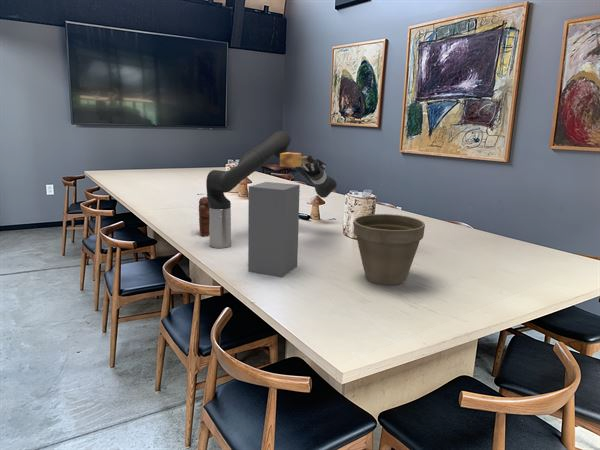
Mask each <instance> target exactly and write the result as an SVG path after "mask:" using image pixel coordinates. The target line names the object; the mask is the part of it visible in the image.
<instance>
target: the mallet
mask: <svg viewBox="0 0 600 450" xmlns="http://www.w3.org/2000/svg"><path fill="white" fill-rule="evenodd" d="M301 154H302V153H301V152H292V151H291V152H289V151H288V152H286V153H280V159H279V167H282V168H293V169H294V167H299V166H301V165H302V164H307V163H310V162H309V161H308V160H307V158H308V155H303V157H301Z"/></svg>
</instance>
